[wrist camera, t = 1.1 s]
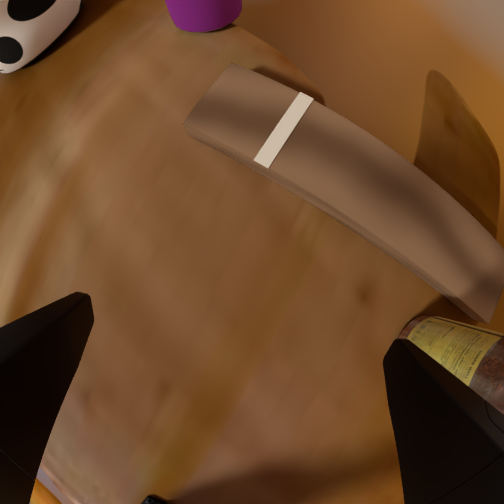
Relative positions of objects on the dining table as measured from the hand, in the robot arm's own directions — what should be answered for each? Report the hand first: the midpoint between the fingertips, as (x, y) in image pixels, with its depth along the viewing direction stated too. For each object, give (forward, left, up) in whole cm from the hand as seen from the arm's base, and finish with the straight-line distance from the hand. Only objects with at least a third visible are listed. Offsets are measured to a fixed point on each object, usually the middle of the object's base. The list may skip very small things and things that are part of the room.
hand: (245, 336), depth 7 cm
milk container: (+14, +45, -15) cm, 50 cm away
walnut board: (+11, -5, -15) cm, 19 cm away
